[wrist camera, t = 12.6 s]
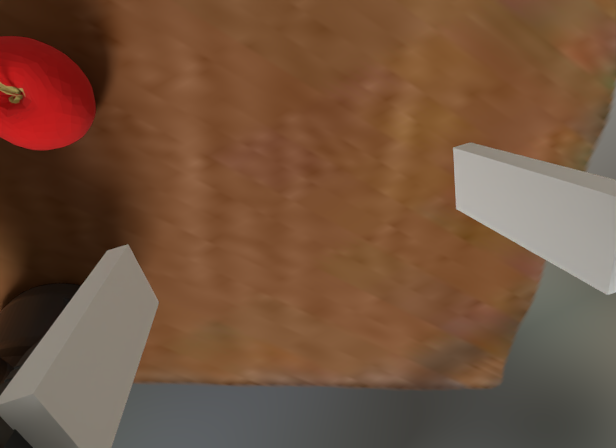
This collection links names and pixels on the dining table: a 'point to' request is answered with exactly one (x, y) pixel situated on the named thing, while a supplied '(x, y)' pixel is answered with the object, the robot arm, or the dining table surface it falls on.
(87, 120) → the fruit
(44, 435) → the robot arm
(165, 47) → the dining table surface
